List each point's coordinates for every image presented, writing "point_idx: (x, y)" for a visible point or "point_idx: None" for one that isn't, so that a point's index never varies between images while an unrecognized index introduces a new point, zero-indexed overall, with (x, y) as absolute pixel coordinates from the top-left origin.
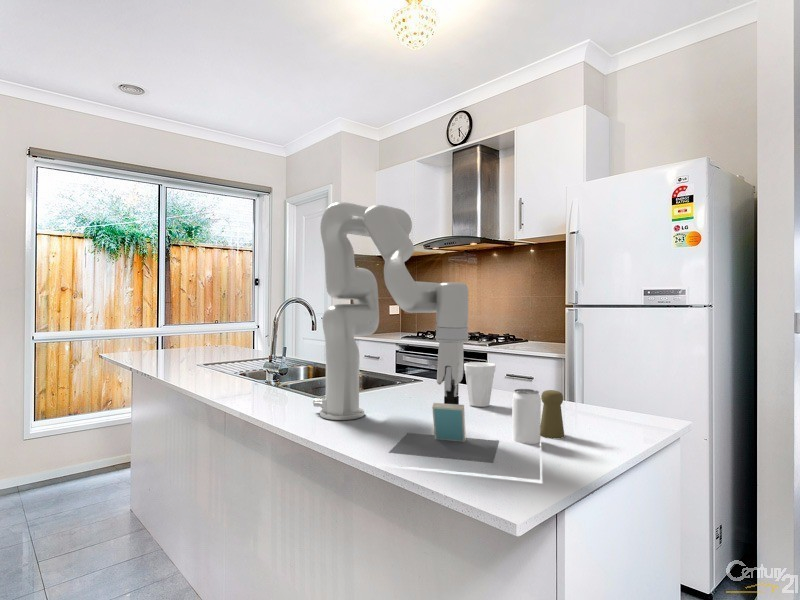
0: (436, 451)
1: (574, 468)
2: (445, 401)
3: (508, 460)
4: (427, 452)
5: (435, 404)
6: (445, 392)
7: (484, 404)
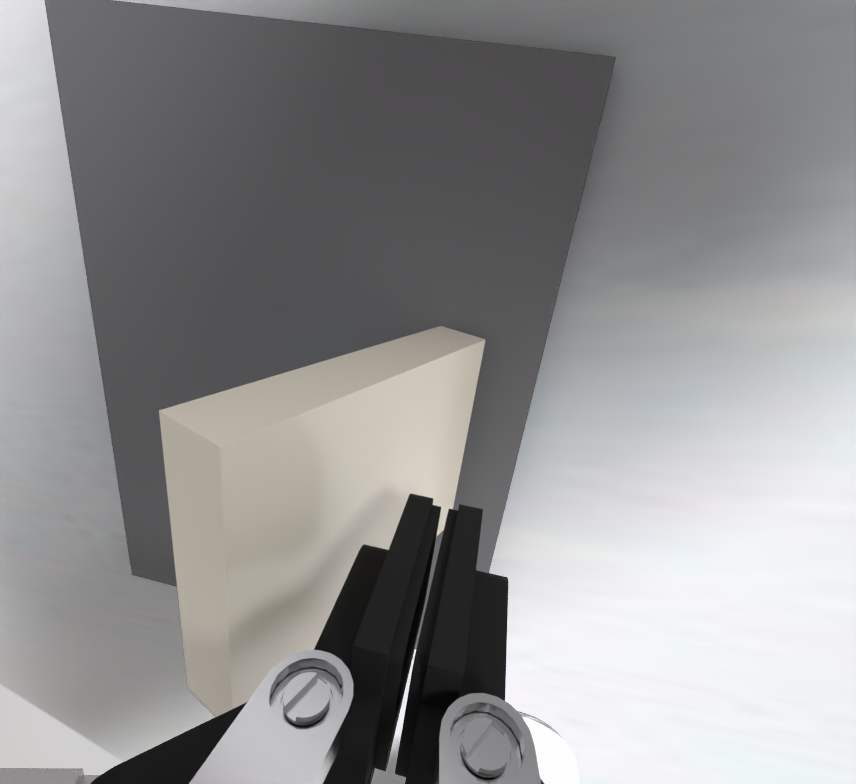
0: (186, 339)
1: None
2: (376, 597)
3: None
4: (151, 285)
5: (197, 461)
6: (237, 731)
7: None
